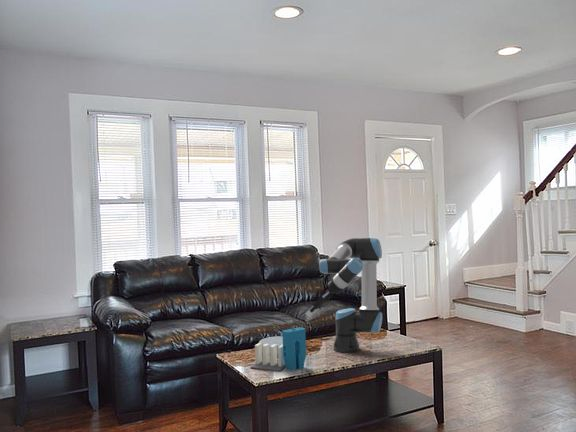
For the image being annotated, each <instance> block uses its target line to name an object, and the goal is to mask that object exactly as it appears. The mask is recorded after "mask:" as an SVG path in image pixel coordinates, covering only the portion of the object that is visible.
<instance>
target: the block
mask: <svg viewBox="0 0 576 432" xmlns="http://www.w3.org/2000/svg"><path fill="white" fill-rule="evenodd" d="M281 334H282V335H281V336H282V337H283V358H284V362H285V366H286V368H285V369H286V370H288V371H291V372H293V371H296V370H297V369H298V370H299V369H300V370H301V369H304V367H305V362H306V357H307V343H306V342H307V341H306V339H307V338H306V328H304V327H294V328H289V329H283V330H282V333H281Z"/></svg>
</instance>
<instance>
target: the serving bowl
mask: <svg viewBox="0 0 576 432" xmlns="http://www.w3.org/2000/svg"><path fill="white" fill-rule="evenodd" d="M258 343H262V346H263V345H265V344H269V352H270V346H272V345H274V344H277V356H278V347H279V346H281V345H283V337H282V335H279V336H278V335H277V336H269V337H265V338H262V339H261V340H259V342H258ZM262 351H263V348H262Z"/></svg>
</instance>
